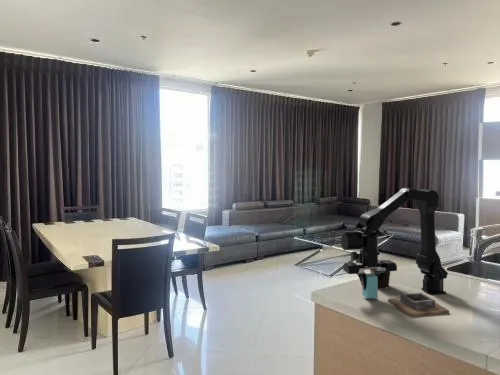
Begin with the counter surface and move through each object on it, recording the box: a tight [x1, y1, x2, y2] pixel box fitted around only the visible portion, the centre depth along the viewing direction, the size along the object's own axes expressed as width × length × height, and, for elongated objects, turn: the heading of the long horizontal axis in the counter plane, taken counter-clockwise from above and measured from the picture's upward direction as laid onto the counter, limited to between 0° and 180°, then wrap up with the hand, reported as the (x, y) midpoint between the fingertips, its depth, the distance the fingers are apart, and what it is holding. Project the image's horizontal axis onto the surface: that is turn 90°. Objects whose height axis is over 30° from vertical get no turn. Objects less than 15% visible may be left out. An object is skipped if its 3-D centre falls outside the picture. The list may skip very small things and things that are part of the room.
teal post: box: [362, 272, 379, 299], centre depth 140 cm, size 4×4×8 cm
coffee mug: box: [369, 258, 391, 289], centre depth 155 cm, size 12×9×10 cm
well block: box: [387, 292, 450, 318], centre depth 131 cm, size 14×14×4 cm
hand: (369, 289), depth 140 cm, fingers closed on teal post, 4 cm apart
